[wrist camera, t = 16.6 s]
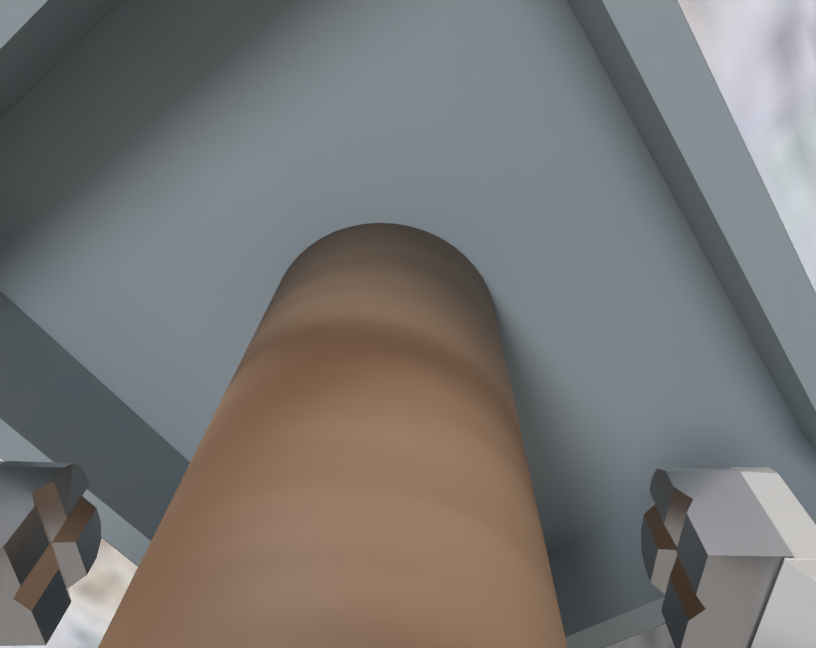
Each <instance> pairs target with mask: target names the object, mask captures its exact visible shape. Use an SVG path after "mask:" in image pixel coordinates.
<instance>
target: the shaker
mask: <svg viewBox="0 0 816 648" xmlns="http://www.w3.org/2000/svg"><path fill="white" fill-rule="evenodd" d="M98 648H568V647H567V643H566V638H565V633H564V629H563V624H562V619H561V615H560V610H559V606H558V601H557V596H556V592H555V587H554V582H553V578H552V573H551V569H550V564H549V559H548V555H547V550H546V545H545V541H544V536H543V532H542V527H541V522H540V518H539V513H538V508H537V504H536V499H535V494H534V490H533V485H532V481H531V476H530V471H529V467H528V462H527V457H526V453H525V448H524V444H523V439H522V434H521V430H520V425H519V420H518V416H517V411H516V407H515V402H514V397H513V393H512V388H511V383H510V379H509V374H508V369H507V365H506V360H505V356H504V351H503V346H502V342H501V337H500V332H499V328H498V323H497V319H496V314H495V309H494V305H493V301H492V298H491V295H490V292H489V289H488V287H487V285H486V283H485V281H484V279H483V277H482V276H481V275H480V273H479V272H478V270H477V269H476V267H475V266H474V265H473V264H472V263H471V262H470V261H469V259H468V258H467V257H466V256H465V255H464V254H462V253H461V252H460V251H459V250H458V249H456V248H455V247H454V246H453V245H451V244H450V243H448V242H446V241H445V240H443V239H441V238H440V237H438V236H436V235H433V234H431V233H429V232H427V231H424V230H421V229H418V228H414V227H411V226H406V225H400V224H395V223H369V224H360V225H356V226H351V227H347V228H344V229H341V230H338V231H335V232H333V233H331V234H329V235H327V236H325V237H323V238H321V239H319V240H318V241H316V242H315V243H313V244H312V245H310V246H309V247H308V248H306V249H305V250H304V251H303V252H302V253H301V254H300V255H299V256H298V257H297V258H296V259H295V260H294V262H293V263H292V264H291V265H290V266H289V268H288V269H287V271H286V273H285V274H284V276H283V278H282V279H281V281H280V283H279V285H278V287H277V289H276V291H275V293H274V295H273V298H272V300H271V302H270V304H269V306H268V308H267V310H266V312H265V314H264V316H263V318H262V320H261V322H260V324H259V326H258V328H257V330H256V332H255V334H254V336H253V338H252V340H251V342H250V344H249V346H248V348H247V350H246V352H245V354H244V356H243V358H242V360H241V362H240V364H239V366H238V368H237V370H236V372H235V374H234V376H233V378H232V380H231V382H230V384H229V386H228V388H227V390H226V392H225V394H224V396H223V398H222V400H221V402H220V404H219V406H218V408H217V410H216V412H215V414H214V416H213V418H212V420H211V422H210V424H209V426H208V428H207V430H206V432H205V434H204V436H203V438H202V440H201V442H200V444H199V446H198V448H197V450H196V452H195V454H194V456H193V458H192V460H191V462H190V464H189V466H188V468H187V470H186V472H185V474H184V476H183V478H182V480H181V482H180V484H179V486H178V488H177V490H176V492H175V494H174V496H173V498H172V500H171V502H170V504H169V506H168V508H167V510H166V512H165V514H164V516H163V518H162V520H161V522H160V524H159V526H158V529H157V531H156V533H155V535H154V537H153V539H152V541H151V543H150V545H149V547H148V549H147V551H146V553H145V555H144V557H143V559H142V561H141V563H140V565H139V567H138V569H137V571H136V573H135V575H134V577H133V579H132V581H131V583H130V585H129V587H128V589H127V591H126V593H125V595H124V597H123V599H122V601H121V603H120V605H119V607H118V609H117V611H116V613H115V615H114V617H113V619H112V621H111V623H110V625H109V627H108V629H107V631H106V633H105V635H104V637H103V639H102V641H101V643H100V645H99V647H98Z"/></svg>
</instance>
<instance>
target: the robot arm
mask: <svg viewBox="0 0 816 648" xmlns="http://www.w3.org/2000/svg"><path fill="white" fill-rule="evenodd" d="M88 486H89V483H88V480H87V477H86V475H85V472H84V470H83V467H82V466H79V465H77V464H74V463H57V462H25V461H6V462H2V461H0V646H19V645H46V644H47V642H48V641H49V639H50V637H51V636H52V634H53V632H54V631H55V629H56V627H57V625H58V624H59V622H60V620H61V619H62V617H63V615H64V613H65V612H66V610H67V608H68V607H69V605H70V603H71V599H70V594H69V590H68V588H69V587H70V586H72V585H73V584H75V583H76V582H78V581H79V580H80V579H82V578H83V577H85V576H86V575H87V574H88V572H89V570H90V568H91V566H92V565H93V563H94V561H95V559H96V557H97V553H98V549H99V545H100V541H101V520H100V517H99V514H98V510H97V508H96V507H95V506H94V505H92V504H91V503H90V502H89V501H88V500H86V499H85V498H84V497H83V494H84V493H85V491H86V489H87V488H88ZM649 491H650V493H651V495H652V497H653V500H654V502H655V505H654V506H653V507H651V508H650V509H649V510H648V511H647V512H646V513H644V517H643V522H642V528H641V550H642V556H643V560H644V565H645V568H646V571H647V574H648V577H649V580H650V582H651V583H652V584H653V585H654V586H655V587H657V588H658V589H659V590H660V591H661V592H663V593H664V594H665V597H664V601H663V605H662V609H661V612H662V614H663V617H664V619H665V622H666V625H667V627H668V630H669V632H670V635H671V637H672V640H673V643H674V645H675V648H816V524H815V523H814V522H813V520H812V519H811V518H810V516H809V515H808V513H807V512H806V511H805V509H804V508H803V507H802V505H801V504H800V503H799V501H798V500H797V499H796V497H795V496H794V494H793V493H792V492H791V490H790V489H789V488H788V486H787V485H786V484H785V482H784V481H783V479H782V478H781V477H780V475H779V474H778V473H777V472H776V471H774V470H773V469H771V468H769V467H732V468H730V469H728V468H657V470H656V471H655V473H654V474H653V476H652V480H651V485H650V489H649Z"/></svg>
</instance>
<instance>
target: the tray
mask: <svg viewBox="0 0 816 648" xmlns="http://www.w3.org/2000/svg"><path fill="white" fill-rule="evenodd" d="M369 223H395V224H400V225H406V226H411V227H414V228H418V229H421V230H424V231H427V232H429V233H431V234H433V235H436V236H438V237H440V238H441V239H443V240H445V241H446V242H448V243H450V244H451V245H453V246H454V247H455V248H456V249H458V250H459V251H460V252H461V253H462V254H464V255H465V256H466V257H467V258H468V259H469V261H470V262H471V263H472V264H473V265H474V266H475V267H476V269H477V270H478V272H479V273H480V275H481V276H482V277H483V279H484V281H485V283H486V285H487V287H488V289H489V292H490V295H491V298H492V301H493V305H494V309H495V314H496V319H497V323H498V328H499V332H500V337H501V342H502V346H503V351H504V356H505V360H506V365H507V369H508V374H509V379H510V383H511V388H512V393H513V397H514V402H515V407H516V411H517V416H518V420H519V425H520V430H521V434H522V439H523V444H524V448H525V453H526V457H527V462H528V467H529V471H530V476H531V481H532V485H533V490H534V494H535V499H536V504H537V508H538V513H539V518H540V522H541V527H542V532H543V536H544V541H545V545H546V550H547V555H548V559H549V564H550V569H551V573H552V578H553V582H554V587H555V592H556V596H557V601H558V606H559V610H560V615H561V619H562V624H563V629H564V633H565V638H566V643H567V647H568V648H604V647H607V646H609V645H612V644H614V643H617V642H619V641H622V640H624V639H627V638H629V637H632V636H635V635H637V634H640V633H642V632H645V631H647V630H650V629H652V628H655V627H657V626H660V625H662V624H665V623H666V622H665V619H664V617H663V614H662V612H661V609H662V605H663V601H664V597H665V594H664V593H663V592H661V591H660V590H659V589H658V588H657V587H655V586H654V585H653V584H652V583H651V582H650V580H649V577H648V574H647V571H646V568H645V565H644V560H643V556H642V550H641V528H642V522H643V517H644V513H646V512H647V511H648V510H649V509H650V508H651V507H653V506H654V505H655V502H654V500H653V497H652V495H651V493H650V491H649V489H650V485H651V480H652V476H653V474H654V473H655V471H656V470H657V468H728V469H730V468H732V467H769V468H771V469H773V470H774V471H776V472H777V473H778V474H779V475H780V477H781V478H782V479H783V481H784V482H785V484H786V485H787V486H788V488H789V489H790V490H791V492H792V493H793V494H794V496H795V497H796V499H797V500H798V501H799V503H800V504H801V505H802V507H803V508H804V509H805V511H806V512H807V513H808V515H809V516H810V518H811V519H812V520H813V522H814V523H815V524H816V293H815V291H814V289H813V286H812V284H811V282H810V280H809V278H808V276H807V274H806V272H805V269H804V267H803V265H802V263H801V261H800V259H799V257H798V255H797V253H796V250H795V248H794V246H793V244H792V242H791V240H790V238H789V236H788V233H787V231H786V229H785V227H784V225H783V223H782V221H781V219H780V217H779V214H778V212H777V210H776V208H775V206H774V204H773V202H772V200H771V198H770V195H769V193H768V191H767V189H766V187H765V185H764V183H763V181H762V178H761V176H760V174H759V172H758V170H757V168H756V166H755V164H754V162H753V159H752V157H751V155H750V153H749V151H748V149H747V147H746V145H745V142H744V140H743V138H742V136H741V134H740V132H739V130H738V128H737V126H736V123H735V121H734V119H733V117H732V115H731V113H730V111H729V109H728V107H727V104H726V102H725V100H724V98H723V96H722V94H721V92H720V90H719V87H718V85H717V83H716V81H715V79H714V77H713V75H712V73H711V71H710V68H709V66H708V64H707V62H706V60H705V58H704V56H703V54H702V51H701V49H700V47H699V45H698V43H697V41H696V39H695V37H694V35H693V32H692V30H691V28H690V26H689V24H688V22H687V20H686V18H685V16H684V13H683V11H682V9H681V7H680V5H679V3H678V1H677V0H0V458H1V459H2V460H3V461H4V462H6V461H25V462H57V463H74V464H77V465H79V466H82V467H83V470H84V472H85V475H86V477H87V480H88V483H89V486H88V488H87V489H86V491H85V493H84V494H83V497H84V498H85V499H86V500H88V501H89V502H90V503H91V504H92V505H94V506H95V507H96V508H97V510H98V514H99V517H100V520H101V538H102V539H104V540H105V541H106V542H107V543H109V544H110V545H111V546H113V547H114V548H115V549H116V550H118V551H119V552H120V553H121V554H123V555H124V556H125V557H127V558H128V559H129V560H130V561H132V562H133V563H134V564H135V565H137V566H138V567H139V565H140V563H141V561H142V559H143V557H144V555H145V553H146V551H147V549H148V547H149V545H150V543H151V541H152V539H153V537H154V535H155V533H156V531H157V529H158V526H159V524H160V522H161V520H162V518H163V516H164V514H165V512H166V510H167V508H168V506H169V504H170V502H171V500H172V498H173V496H174V494H175V492H176V490H177V488H178V486H179V484H180V482H181V480H182V478H183V476H184V474H185V472H186V470H187V468H188V466H189V464H190V462H191V460H192V458H193V456H194V454H195V452H196V450H197V448H198V446H199V444H200V442H201V440H202V438H203V436H204V434H205V432H206V430H207V428H208V426H209V424H210V422H211V420H212V418H213V416H214V414H215V412H216V410H217V408H218V406H219V404H220V402H221V400H222V398H223V396H224V394H225V392H226V390H227V388H228V386H229V384H230V382H231V380H232V378H233V376H234V374H235V372H236V370H237V368H238V366H239V364H240V362H241V360H242V358H243V356H244V354H245V352H246V350H247V348H248V346H249V344H250V342H251V340H252V338H253V336H254V334H255V332H256V330H257V328H258V326H259V324H260V322H261V320H262V318H263V316H264V314H265V312H266V310H267V308H268V306H269V304H270V302H271V300H272V298H273V295H274V293H275V291H276V289H277V287H278V285H279V283H280V281H281V279H282V278H283V276H284V274H285V273H286V271H287V269H288V268H289V266H290V265H291V264H292V263H293V262H294V260H295V259H296V258H297V257H298V256H299V255H300V254H301V253H302V252H303V251H304V250H305V249H306V248H308V247H309V246H310V245H312V244H313V243H315V242H316V241H318V240H319V239H321V238H323V237H325V236H327V235H329V234H331V233H333V232H335V231H338V230H341V229H344V228H347V227H351V226H356V225H360V224H369Z"/></svg>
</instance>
